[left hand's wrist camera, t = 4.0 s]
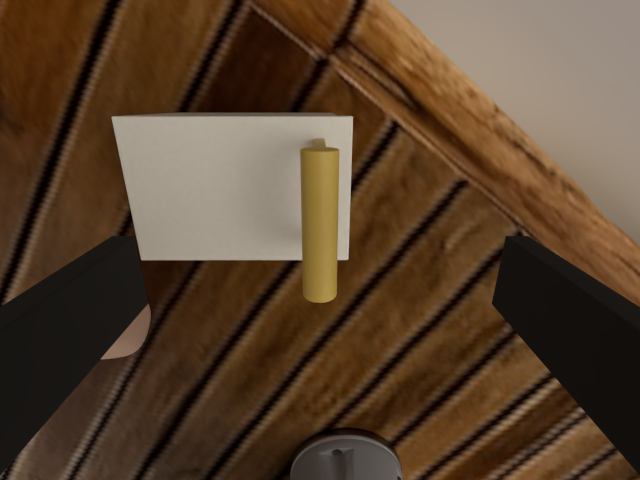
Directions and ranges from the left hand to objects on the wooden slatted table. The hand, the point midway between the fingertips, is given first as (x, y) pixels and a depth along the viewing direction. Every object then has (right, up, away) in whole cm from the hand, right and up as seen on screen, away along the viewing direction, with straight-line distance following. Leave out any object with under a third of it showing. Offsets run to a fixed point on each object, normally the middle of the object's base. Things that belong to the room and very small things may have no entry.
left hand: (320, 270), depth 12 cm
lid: (-5, +4, +12) cm, 14 cm away
